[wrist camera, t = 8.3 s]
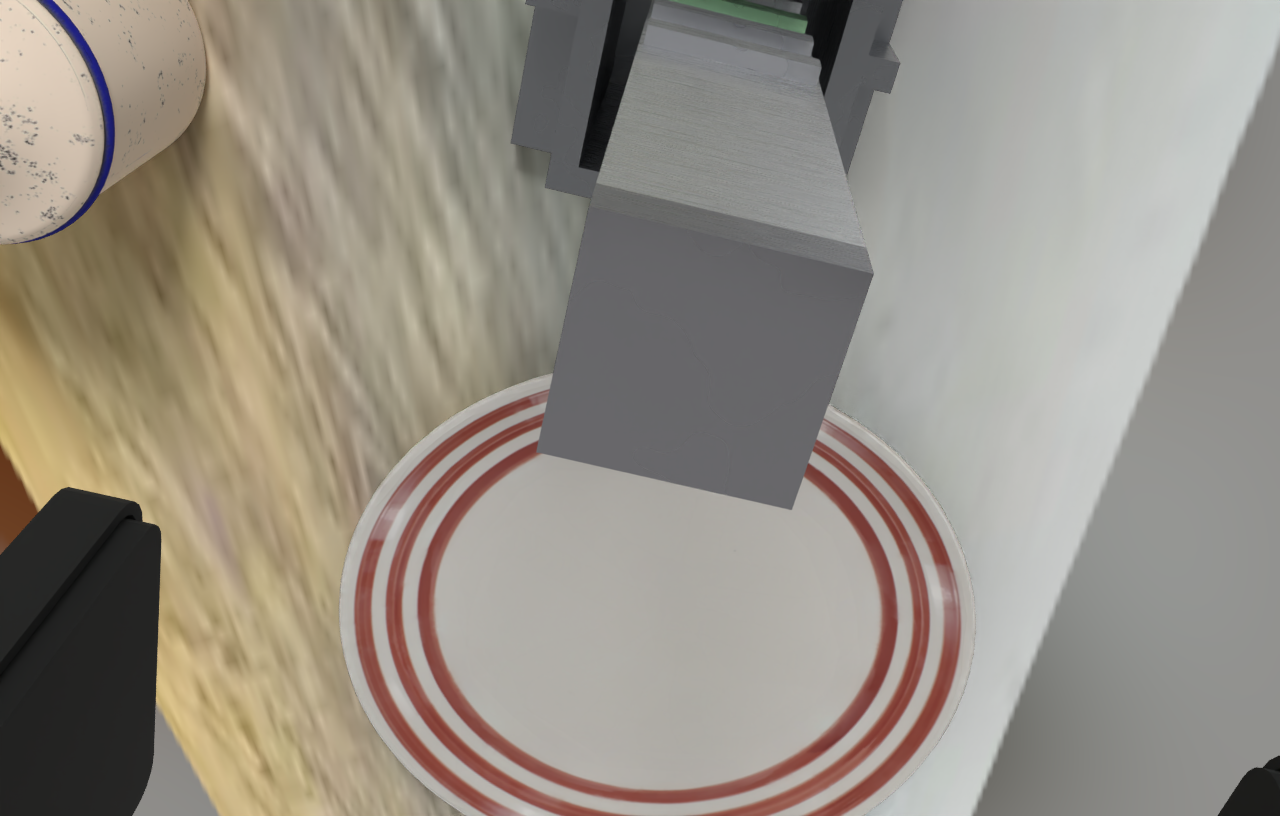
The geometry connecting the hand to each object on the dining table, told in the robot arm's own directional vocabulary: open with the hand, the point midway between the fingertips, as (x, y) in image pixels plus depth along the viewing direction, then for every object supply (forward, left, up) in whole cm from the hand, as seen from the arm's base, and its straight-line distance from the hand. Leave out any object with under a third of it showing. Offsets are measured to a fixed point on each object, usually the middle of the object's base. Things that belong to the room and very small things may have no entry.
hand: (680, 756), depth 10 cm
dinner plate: (+26, +4, -36) cm, 45 cm away
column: (0, 0, -29) cm, 29 cm away
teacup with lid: (+7, -23, -36) cm, 43 cm away
